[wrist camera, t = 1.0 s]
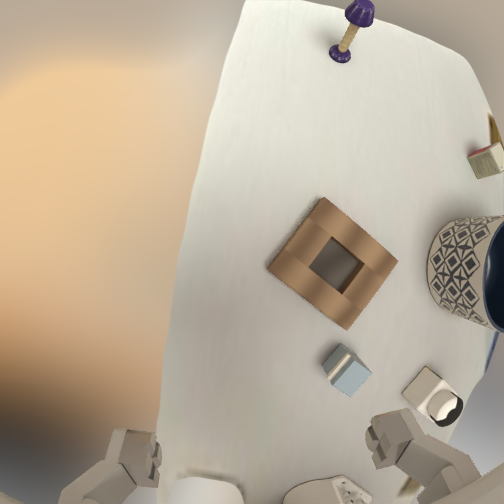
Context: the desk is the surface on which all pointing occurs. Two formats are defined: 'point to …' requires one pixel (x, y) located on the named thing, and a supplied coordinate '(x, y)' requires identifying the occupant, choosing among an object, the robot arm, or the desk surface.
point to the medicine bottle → (434, 398)
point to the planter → (470, 270)
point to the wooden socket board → (333, 263)
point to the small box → (488, 161)
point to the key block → (346, 370)
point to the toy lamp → (353, 28)
